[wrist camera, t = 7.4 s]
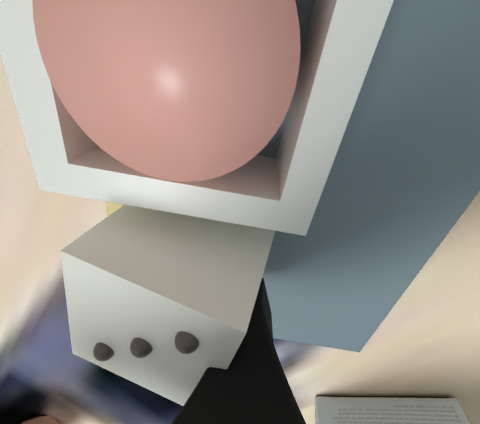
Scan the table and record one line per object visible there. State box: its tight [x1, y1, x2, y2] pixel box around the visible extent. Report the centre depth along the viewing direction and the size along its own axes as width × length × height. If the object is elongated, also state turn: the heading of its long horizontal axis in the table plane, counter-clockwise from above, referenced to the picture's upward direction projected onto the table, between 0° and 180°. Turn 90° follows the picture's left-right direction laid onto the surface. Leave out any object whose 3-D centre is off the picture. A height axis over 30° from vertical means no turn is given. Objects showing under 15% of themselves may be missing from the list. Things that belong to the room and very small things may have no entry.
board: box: [106, 0, 480, 352], centre depth 10 cm, size 13×16×1 cm
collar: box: [0, 0, 394, 236], centre depth 6 cm, size 7×7×3 cm
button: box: [32, 0, 301, 182], centre depth 6 cm, size 4×4×3 cm
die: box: [61, 205, 275, 406], centre depth 9 cm, size 4×4×5 cm
